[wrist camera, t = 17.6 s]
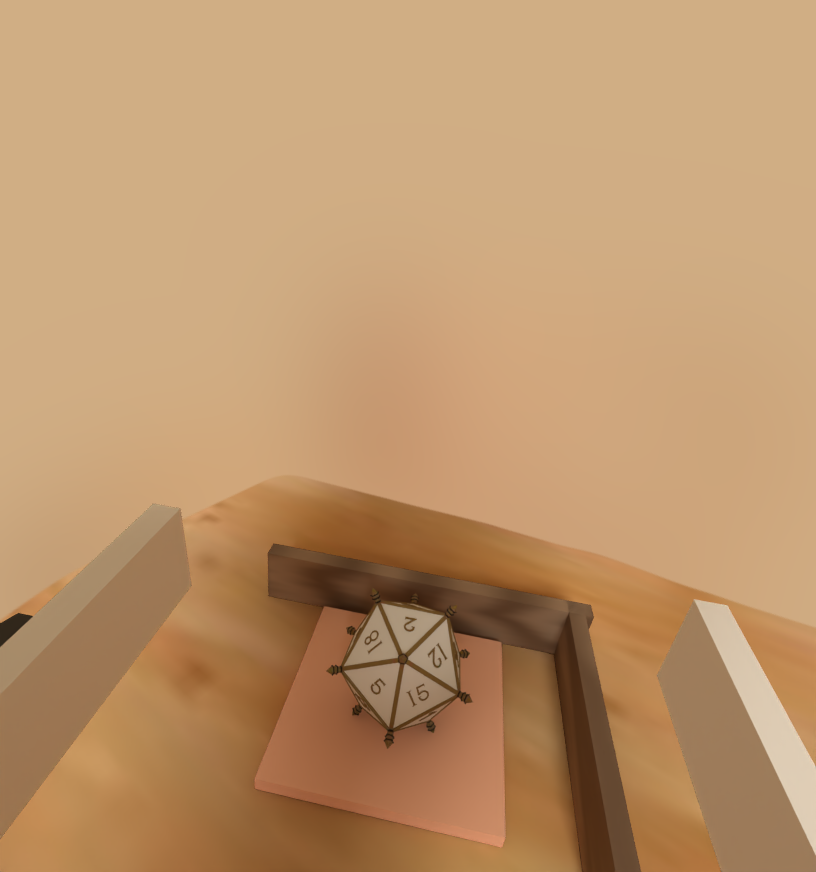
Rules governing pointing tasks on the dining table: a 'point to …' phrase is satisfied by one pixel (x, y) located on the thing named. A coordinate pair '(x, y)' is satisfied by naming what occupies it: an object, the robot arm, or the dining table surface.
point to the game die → (403, 664)
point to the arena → (510, 624)
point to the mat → (405, 759)
